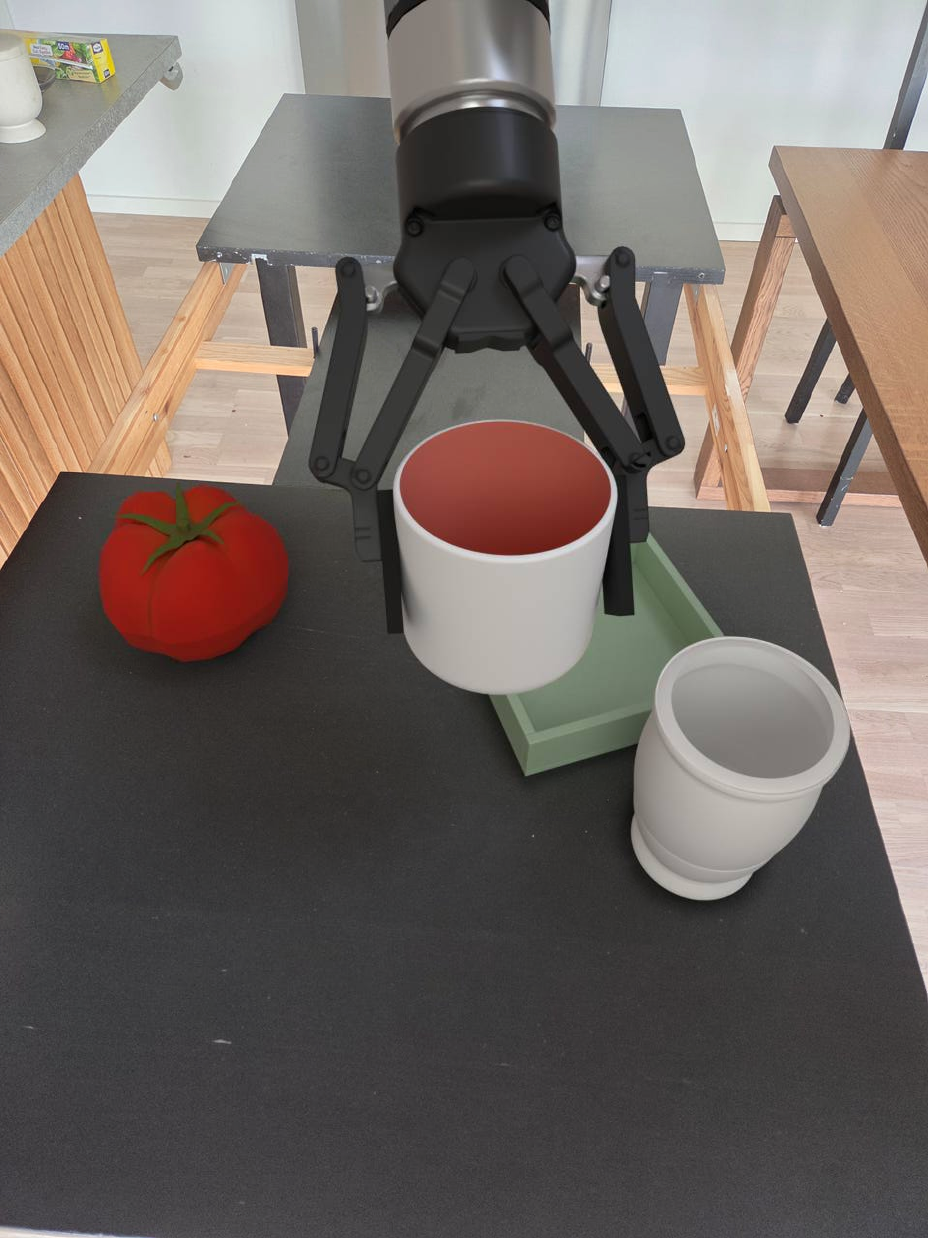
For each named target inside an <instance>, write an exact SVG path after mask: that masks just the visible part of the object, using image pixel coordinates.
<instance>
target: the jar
mask: <svg viewBox="0 0 928 1238" xmlns="http://www.w3.org/2000/svg"><path fill="white" fill-rule="evenodd" d="M849 719H850V718H849V715H848V712H847V708H846V706H845V704H844V702H843V700H842V698H841V696H840V695H839V692H838V691H837V689H836V688H835V686H833V684H832V683H831V682H830V681H829V679H828V678H827V677H826V676H825V675H824V674H823V673H822V672H821V671H820V670H819V669H818V668H816V666H814V665H813V664H812V663H810V661H807V660H806V659H804V658H803V657H801V656H800V655H798V654H797V653H795V652H793V651H791V650H789V649H787V648H785V647H782V646H780V645H777V644H775V643H772V642H769V641H766V640H762V639H758V638H753V637H745V636H725V637H717V638H711V639H707V640H703V641H700V642H697V643H694V644H692V645H690V646H688V647H686V648H685V649H683V650H681V651H680V652H679V653H677V654H676V655H675V656H674V657H673V658H672V659H671V660H670V661H669V662H668V663H667V665H666V666H665V667H664V669H663V671H662V672H661V675H660V677H659V679H658V682H657V685H656V688H655V692H654V697H653V710H652V712H651V714H650V716H649V718H648V720H647V722H646V724H645V726H644V729H643V731H642V734H641V737H640V740H639V743H637V747H636V753H635V758H634V767H633V810H634V812H633V813H634V814H633V815H632V819H631V824H630V825H631V826H630V839H631V844H632V848H633V851H634V854H635V856H636V859H637V860H638V862H639V864H640V866H641V867H642V869H643V870H644V871H645V872H646V874H647V875H649V877H650V878H651V879H652V880H653V881H655V883H657V884H658V885H659V886H660V887H662V888H664V889H665V890H667V891H669V892H671V893H672V894H675V895H677V896H679V897H683V898H686V899H690V900H695V901H714V900H720V899H723V898H726V897H728V896H731V895H733V894H735V893H736V892H737V891H739V890H741V888H743V887H744V886H745V885H746V884H747V883H748V882H749V880H750V878H751V877H752V876H753V873H754V872H756V871H758V870H759V869H761V868H762V867H763V866H764V865H766V864H767V863H768V862H769V861H770V860H771V859H772V858H774V856H775V855H777V854H778V853H779V852H780V851H782V850H783V849H784V848H785V847H786V846H787V845H788V844H789V843H791V841H792V840H794V838H795V837H796V836H797V835H798V834H799V833H800V831H801V830H802V828H803V827H804V826H805V824H806V823H807V822H808V820H809V818H810V817H811V815H812V813H813V811H814V809H815V807H816V805H817V803H818V800H819V798H820V795H821V793H822V790H823V787H824V786H825V785H826V784H827V783H828V782H830V780H831V779H832V778H833V777H834V776H835V774H836V773H837V772H838V770H839V768H840V767H841V765H842V764H843V761H844V759H845V757H846V755H847V752H848V750H849V746H850V740H851V727H850V726H851V725H850V720H849Z"/></svg>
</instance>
